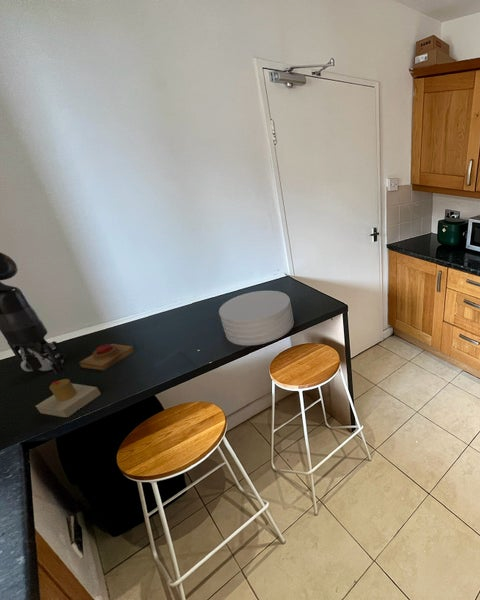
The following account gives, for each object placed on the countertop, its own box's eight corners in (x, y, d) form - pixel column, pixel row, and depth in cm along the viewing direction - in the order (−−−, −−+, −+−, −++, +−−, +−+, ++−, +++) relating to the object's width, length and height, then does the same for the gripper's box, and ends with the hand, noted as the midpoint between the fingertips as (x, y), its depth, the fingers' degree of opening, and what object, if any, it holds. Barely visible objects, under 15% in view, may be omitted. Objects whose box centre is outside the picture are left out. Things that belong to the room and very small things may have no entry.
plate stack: (306, 323, 141) (303, 301, 136) (248, 354, 121) (241, 329, 116) (271, 306, 156) (266, 285, 151) (213, 330, 136) (206, 307, 131)
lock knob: (80, 391, 99) (72, 378, 96) (65, 402, 95) (56, 388, 93) (68, 390, 99) (60, 377, 97) (53, 400, 96) (44, 387, 93)
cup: (39, 380, 108) (26, 361, 104) (20, 377, 109) (7, 359, 106) (73, 360, 118) (62, 343, 114) (55, 358, 119) (44, 341, 115)
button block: (104, 370, 113) (99, 361, 111) (81, 367, 114) (76, 358, 112) (134, 350, 123) (131, 342, 121) (113, 348, 125) (109, 339, 123)
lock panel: (67, 417, 93) (61, 410, 92) (40, 413, 95) (35, 405, 94) (101, 394, 102) (96, 386, 101) (76, 390, 104) (71, 382, 102)
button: (104, 354, 115) (102, 351, 114) (95, 353, 116) (93, 349, 115) (114, 348, 119) (113, 344, 118) (106, 347, 119) (104, 343, 118)
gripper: (-19, 328, 83) (14, 376, 90) (24, 333, 81) (54, 382, 88) (16, 314, 90) (44, 360, 97) (57, 319, 88) (82, 365, 95)
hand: (49, 370), depth 93 cm, fingers open, 8 cm apart
